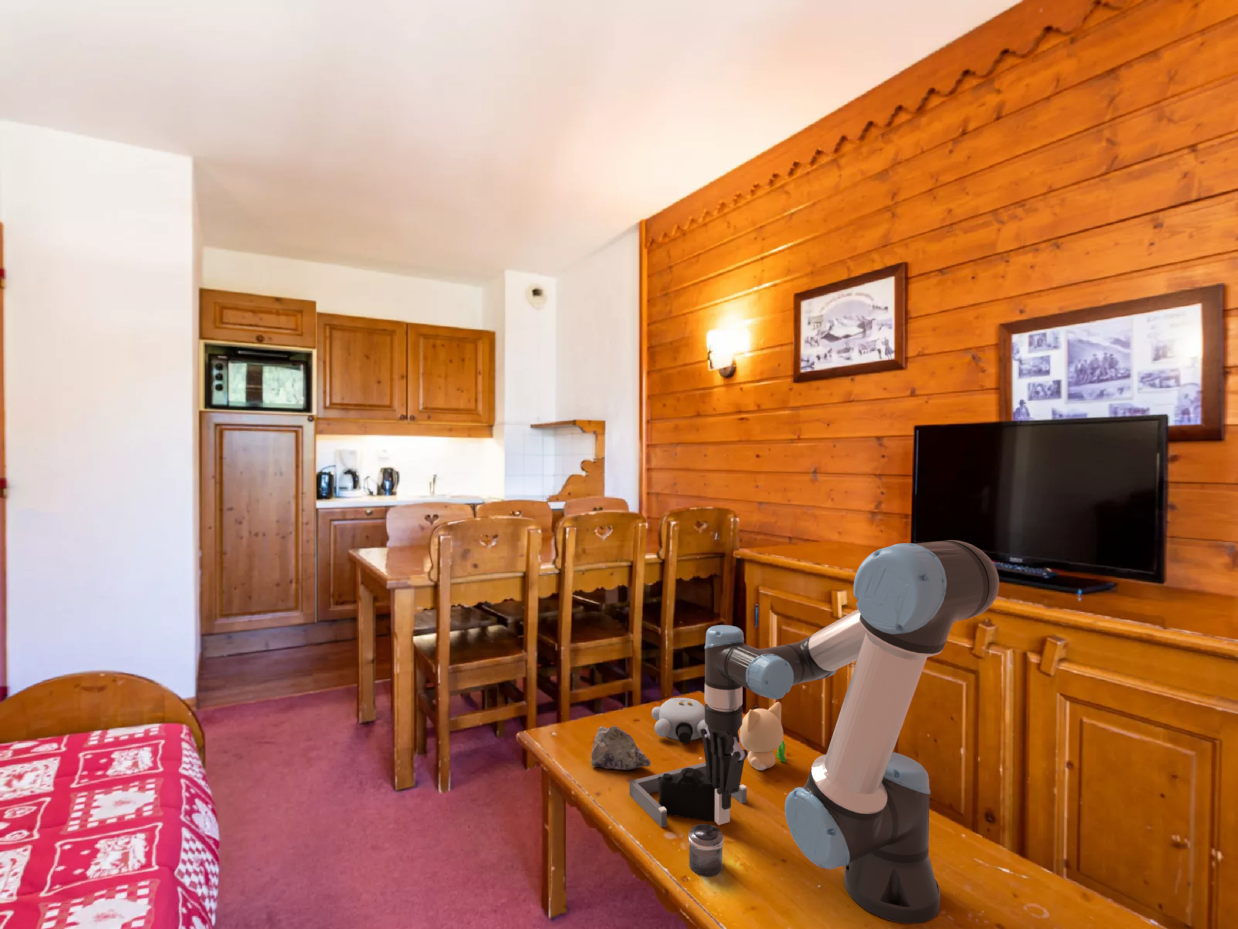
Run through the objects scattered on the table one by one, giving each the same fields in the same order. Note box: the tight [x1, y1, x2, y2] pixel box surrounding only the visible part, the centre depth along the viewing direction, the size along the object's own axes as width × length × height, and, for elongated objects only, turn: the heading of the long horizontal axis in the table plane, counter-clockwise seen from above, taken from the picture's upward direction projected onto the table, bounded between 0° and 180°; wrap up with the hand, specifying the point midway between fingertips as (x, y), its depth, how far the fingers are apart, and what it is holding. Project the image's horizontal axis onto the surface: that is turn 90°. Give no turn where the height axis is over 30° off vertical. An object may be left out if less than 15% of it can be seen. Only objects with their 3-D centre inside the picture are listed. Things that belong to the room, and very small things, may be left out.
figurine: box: [651, 697, 708, 745], centre depth 172 cm, size 17×8×20 cm
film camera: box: [658, 766, 716, 823], centre depth 135 cm, size 15×10×9 cm, turn 74°
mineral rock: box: [590, 725, 652, 771], centre depth 152 cm, size 13×11×10 cm
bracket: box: [628, 761, 748, 828], centre depth 138 cm, size 14×21×3 cm, turn 117°
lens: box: [687, 823, 725, 878], centre depth 115 cm, size 6×6×6 cm
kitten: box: [738, 701, 787, 771], centre depth 154 cm, size 15×10×15 cm
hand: (722, 821), depth 127 cm, fingers closed
